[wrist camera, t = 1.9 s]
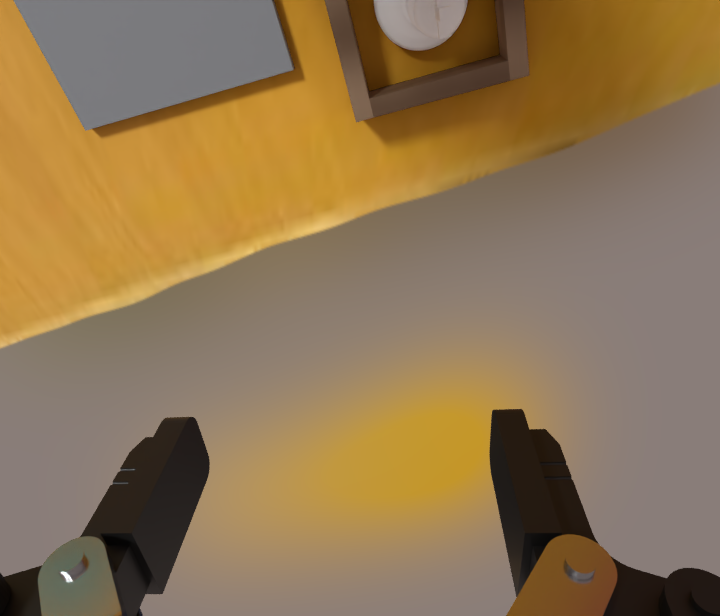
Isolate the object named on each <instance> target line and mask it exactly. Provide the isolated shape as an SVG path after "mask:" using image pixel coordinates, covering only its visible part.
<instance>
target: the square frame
mask: <svg viewBox="0 0 720 616" xmlns="http://www.w3.org/2000/svg"><path fill="white" fill-rule="evenodd" d="M325 3H326V7H327V11H328V15H329V19H330V23H331V27H332V30H333V34H334V38H335V42H336V46H337V50H338V54H339V58H340V61H341V65H342V69H343V73H344V77H345V81H346V85H347V88H348V92H349V96H350V100H351V104H352V108H353V112H354V115H355V119H356V122H359V121H362V120H366V119H370V118H373V117H377V116H381V115H385V114H388V113H392V112H396V111H399V110H403V109H407V108H410V107H414V106H418V105H422V104H425V103H429V102H433V101H436V100H440V99H444V98H448V97H451V96H455V95H459V94H462V93H466V92H470V91H473V90H477V89H481V88H485V87H488V86H492V85H496V84H499V83H503V82H507V81H510V80H514V79H518V78H522V77H525V76H529V64H528V50H527V36H526V22H525V8H524V0H495V10H496V20H497V30H498V40H499V50H500V55H498V56H494V57H490V58H487V59H483V60H480V61H476V62H473V63H469V64H465V65H462V66H458V67H455V68H451V69H447V70H444V71H440V72H437V73H433V74H429V75H426V76H422V77H419V78H415V79H411V80H408V81H404V82H401V83H397V84H394V85H390V86H386V87H383V88H379V89H376V90H372V91H369V89H368V85H367V81H366V77H365V73H364V68H363V64H362V60H361V56H360V52H359V47H358V43H357V39H356V35H355V30H354V26H353V22H352V18H351V14H350V9H349V5H348V1H347V0H325Z"/></svg>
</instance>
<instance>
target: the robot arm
mask: <svg viewBox="0 0 720 616" xmlns="http://www.w3.org/2000/svg"><path fill="white" fill-rule="evenodd" d="M490 467H491V475H492V480H493V485H494V490H495V494H496V499H497V504H498V509H499V514H500V519H501V523H502V528H503V533H504V538H505V543H506V548H507V553H508V558H509V563H510V568H511V572H512V577H513V582H514V587H515V591H516V597H517V598H516V600H515V602H514V603H513V605H512V607H511V608H510V610H509V612H508V614H507V615H506V616H720V577H718V576H716V575H714V574H712V573H709V572H707V571H704V570H700V569H694V568H683V569H678V570H677V571H674V572H673V573H671V574H670V575H669V577H668V578H663V577H660V576H656V575H653V574H650V573H646V572H642V571H640V570H636V569H633V568H630V567H628V566H626V565H624V564H622V563H620V562H618V561H617V560H615V559H613V558H612V557H611V556H610V555H609V554H608V552H607V551H606V550H605V549H604V548H603V547H601V546H600V545H599V544H598V542H597V541H596V539H595V537H594V535H593V533H592V530H591V528H590V525H589V522H588V520H587V517H586V514H585V512H584V509H583V506H582V504H581V501H580V498H579V495H578V493H577V490H576V488H575V485H574V482H573V480H572V479H571V474H570V472H569V469H568V466H567V465H566V461H565V458H564V455H563V453H562V450H561V447H560V445H559V443H558V442H557V441H556V440H555V439H554V438H553V437H552V436H551V435H550V434H549V433H548V432H547V430H545V429H534V430H533V429H531V430H529V427H528V424H527V421H526V417H525V414H524V412H523V410H522V409H508V410H507V409H506V410H493V411H492V420H491V436H490ZM208 474H209V456H208V453H207V450H206V447H205V444H204V441H203V438H202V435H201V432H200V429H199V426H198V423H197V421H196V419H195V418H194V417H177V418H176V417H174V418H165V419H164V420H163V421H162V422H161V424H160V426H159V427H158V429H157V431H156V433H155V435H154V437H147V438H145V439H143V440H142V441H141V442H140V443H139V444H138V445H137V446H136V447H135V448H134V449H133V450H132V451H131V452H130V453H129V455H128V456H127V458H126V460H125V461H124V463H123V465H122V467H121V471H120V472H118V474H117V475H116V477H115V479H114V480H113V485H111V486H110V487H109V489H108V491H107V492H106V494H105V496H104V497H103V499H102V501H101V502H100V504H99V506H98V508H97V509H96V511H95V513H94V514H93V516H92V518H91V520H90V521H89V523H88V525H87V527H86V528H85V530H84V532H83V533H82V535H81V536H80V537H79V538H76V539H73V540H71V541H69V542H67V543H65V544H63V545H62V546H60V547H59V548H58V549H56V550H55V551H54V552H53V553H52V554H51V555H50V556H49V557H48V558H47V560H46V561H45V562H44V564H43V565H42V566H39V567H36V568H32V569H29V570H26V571H22V572H19V573H16V574H12V575H9V576H6V577H3V576H2V575H1V573H0V616H143V614H142V612H141V609H140V606H141V603H142V601H143V598H144V596H145V594H163V591H164V589H165V586H166V584H167V581H168V579H169V576H170V573H171V571H172V568H173V566H174V563H175V561H176V558H177V555H178V553H179V550H180V548H181V545H182V543H183V540H184V537H185V535H186V532H187V530H188V527H189V525H190V522H191V520H192V517H193V514H194V512H195V509H196V506H197V504H198V501H199V499H200V496H201V494H202V491H203V489H204V486H205V484H206V481H207V478H208Z"/></svg>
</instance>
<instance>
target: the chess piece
mask: <svg viewBox="0 0 720 616" xmlns="http://www.w3.org/2000/svg"><path fill="white" fill-rule="evenodd" d="M467 2H468V0H374V9H375V14H376V18H377V21H378V23H379V25H380V27H381V29H382V31H383V32H384V33H385V35H386V36H387V37H388V38H389V39H390V40H391V41H392V42H393V43H395V44H396V45H398V46H400V47H402V48H405V49H408V50H413V51H422V50H428V49H431V48H434V47H436V46H439V45H440V44H442V43H443V42H445V41H446V40H447V39H449V38H450V37H451V36H452V35H453V33H454V32H455V31H456V30H457V28H458V27H459V25H460V23H461V21H462V19H463V17H464V14H465V11H466V8H467Z"/></svg>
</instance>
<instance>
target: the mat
mask: <svg viewBox="0 0 720 616" xmlns="http://www.w3.org/2000/svg"><path fill="white" fill-rule="evenodd" d="M14 2H15V4H16V6H17V7H18V9H19V11H20V13H21V15H22V16H23V18H24V20H25V22H26V24H27V26H28V27H29V29H30V31H31V33H32V35H33V36H34V38H35V40H36V42H37V44H38V45H39V47H40V49H41V51H42V53H43V55H44V56H45V58H46V60H47V62H48V64H49V65H50V67H51V69H52V71H53V73H54V74H55V76H56V78H57V80H58V82H59V84H60V85H61V87H62V89H63V91H64V93H65V94H66V96H67V98H68V100H69V102H70V103H71V105H72V107H73V109H74V111H75V112H76V114H77V116H78V118H79V120H80V122H81V123H82V125H83V127H84V129H85V131H86V130H89V129H93V128H96V127H100V126H103V125H106V124H110V123H113V122H117V121H120V120H124V119H127V118H130V117H134V116H137V115H141V114H144V113H148V112H151V111H154V110H158V109H161V108H165V107H168V106H172V105H175V104H179V103H182V102H185V101H189V100H192V99H196V98H199V97H203V96H206V95H209V94H213V93H216V92H220V91H223V90H227V89H230V88H233V87H237V86H240V85H244V84H247V83H251V82H254V81H257V80H261V79H264V78H268V77H271V76H275V75H278V74H281V73H285V72H288V71H292V70H294V68H295V67H294V64H293V61H292V58H291V54H290V51H289V48H288V45H287V41H286V38H285V35H284V32H283V28H282V25H281V22H280V19H279V15H278V12H277V9H276V5H275V2H274V0H14Z"/></svg>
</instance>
